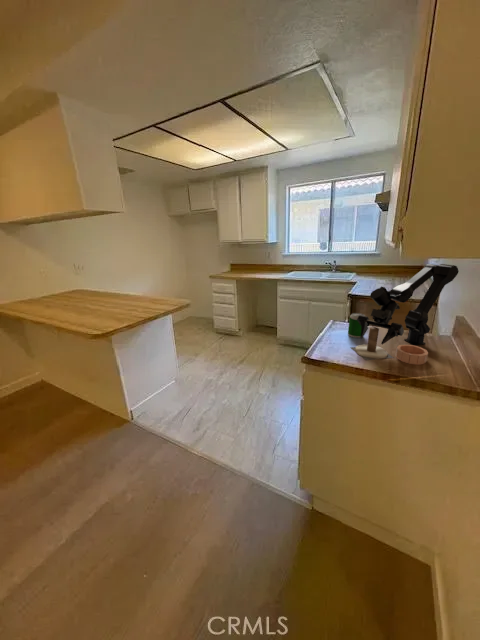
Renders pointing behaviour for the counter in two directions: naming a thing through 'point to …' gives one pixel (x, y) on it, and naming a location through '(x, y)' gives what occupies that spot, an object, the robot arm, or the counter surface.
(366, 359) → the mat
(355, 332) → the soda can
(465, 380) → the counter surface
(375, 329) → the lid
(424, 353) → the bowl
